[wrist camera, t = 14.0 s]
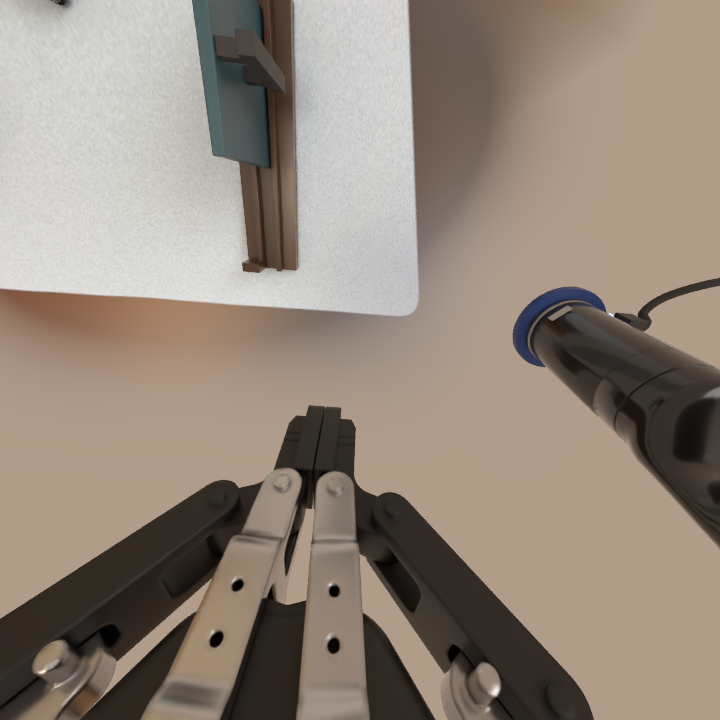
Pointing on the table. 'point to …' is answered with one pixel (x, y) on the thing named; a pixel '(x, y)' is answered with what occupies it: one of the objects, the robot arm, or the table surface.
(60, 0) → the external hard drive
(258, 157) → the sliding door
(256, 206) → the door rail
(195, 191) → the table surface
